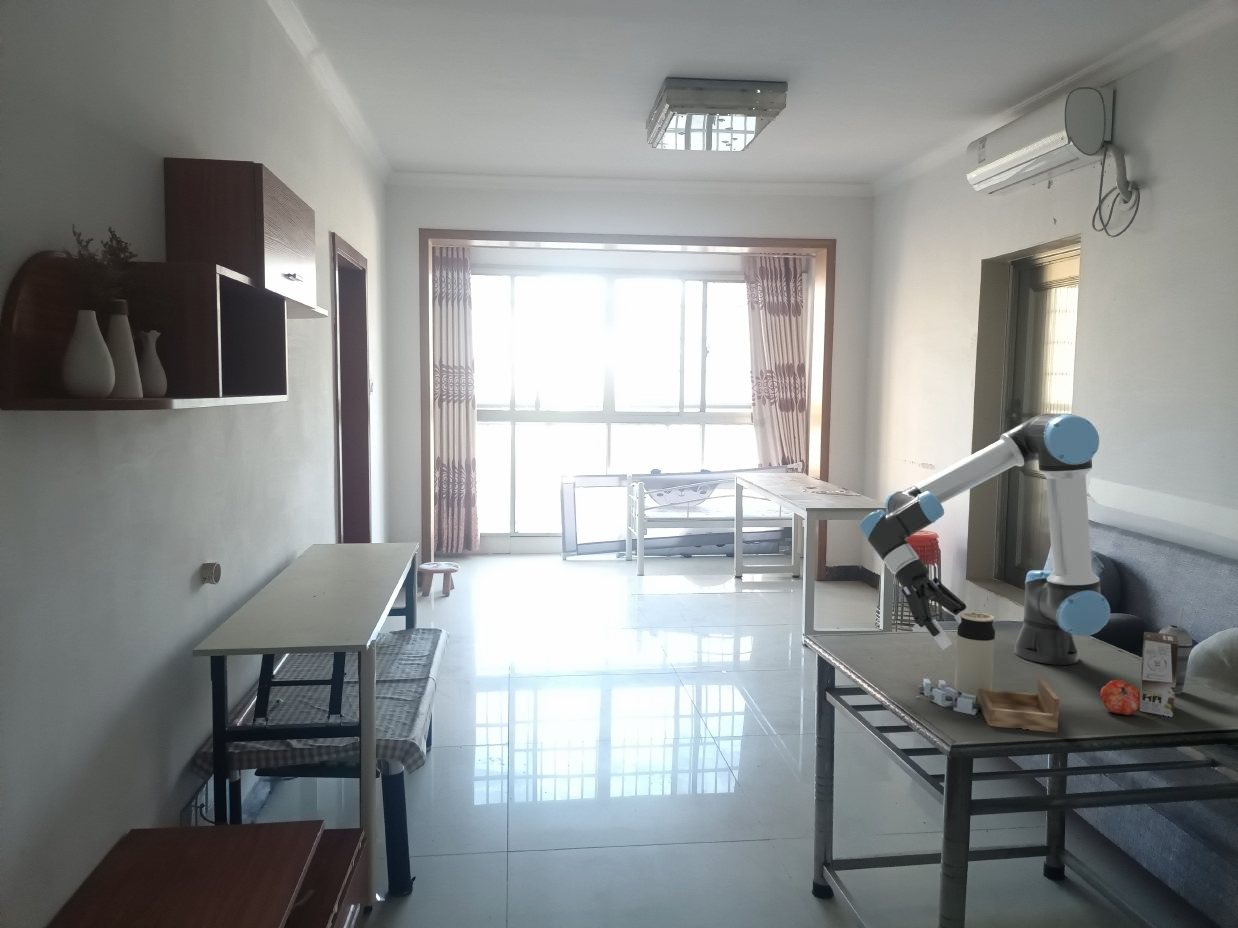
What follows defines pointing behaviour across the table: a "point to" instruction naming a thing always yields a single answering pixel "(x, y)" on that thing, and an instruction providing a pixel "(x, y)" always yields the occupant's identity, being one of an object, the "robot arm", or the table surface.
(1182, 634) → the beverage cup
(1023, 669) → the table surface
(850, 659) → the table surface
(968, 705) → the cable route
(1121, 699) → the pomegranate
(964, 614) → the travel mug
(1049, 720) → the wooden tray
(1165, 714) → the coffee box
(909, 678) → the table surface
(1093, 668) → the table surface
